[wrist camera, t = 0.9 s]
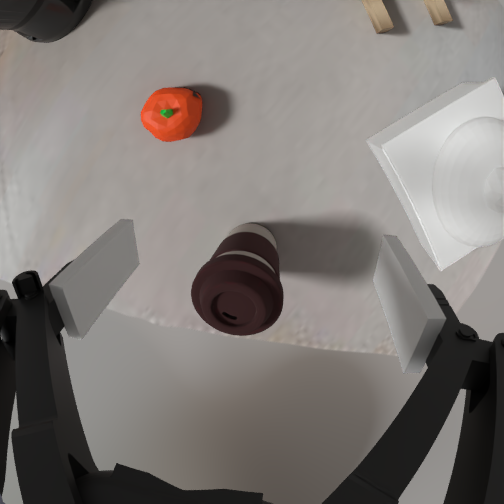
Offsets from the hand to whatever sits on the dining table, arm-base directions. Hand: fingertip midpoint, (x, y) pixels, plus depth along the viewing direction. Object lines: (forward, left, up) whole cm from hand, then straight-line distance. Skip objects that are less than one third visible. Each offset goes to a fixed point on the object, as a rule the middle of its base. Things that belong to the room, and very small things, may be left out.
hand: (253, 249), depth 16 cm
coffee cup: (+11, -8, -26) cm, 29 cm away
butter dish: (+7, +22, -26) cm, 35 cm away
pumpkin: (-10, -10, -26) cm, 30 cm away
